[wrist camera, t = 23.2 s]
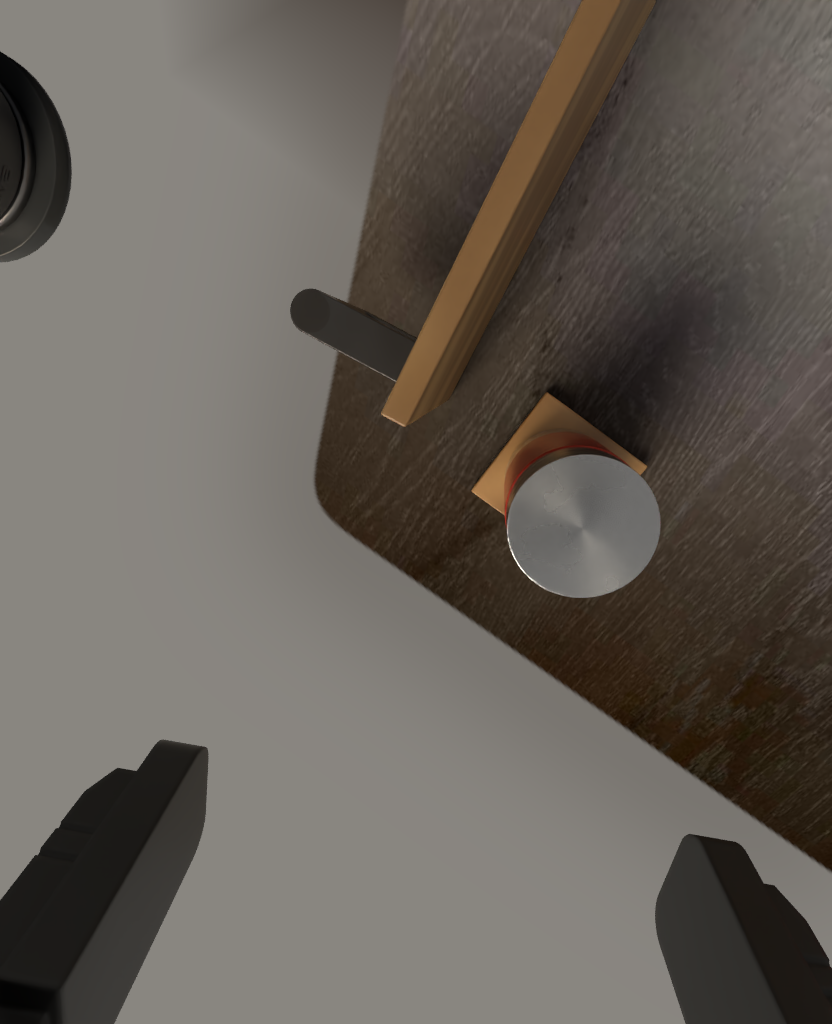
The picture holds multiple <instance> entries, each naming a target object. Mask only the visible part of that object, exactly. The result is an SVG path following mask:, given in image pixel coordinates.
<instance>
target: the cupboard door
mask: <svg viewBox="0 0 832 1024" xmlns="http://www.w3.org/2000/svg"><path fill="white" fill-rule="evenodd" d="M656 1H657V0H582V1H581V3H580V5H579V8H578V10H577V12H576V14H575V16H574V18H573V20H572V22H571V24H570V26H569V28H568V30H567V32H566V34H565V36H564V38H563V40H562V42H561V44H560V47H559V49H558V51H557V53H556V55H555V57H554V59H553V61H552V63H551V65H550V67H549V69H548V71H547V73H546V75H545V77H544V79H543V81H542V83H541V86H540V88H539V90H538V92H537V94H536V96H535V98H534V100H533V102H532V104H531V106H530V108H529V110H528V112H527V114H526V116H525V118H524V120H523V122H522V125H521V127H520V129H519V131H518V133H517V135H516V137H515V139H514V141H513V143H512V145H511V147H510V149H509V151H508V153H507V155H506V157H505V159H504V161H503V164H502V166H501V168H500V170H499V172H498V174H497V176H496V178H495V180H494V182H493V184H492V186H491V188H490V190H489V192H488V194H487V196H486V198H485V200H484V203H483V205H482V207H481V209H480V211H479V213H478V215H477V217H476V219H475V221H474V223H473V225H472V227H471V229H470V231H469V233H468V235H467V237H466V239H465V241H464V244H463V246H462V248H461V250H460V252H459V254H458V256H457V258H456V260H455V262H454V264H453V266H452V268H451V270H450V272H449V274H448V276H447V278H446V280H445V283H444V285H443V287H442V289H441V291H440V293H439V295H438V297H437V299H436V301H435V303H434V305H433V307H432V309H431V311H430V313H429V315H428V317H427V319H426V322H425V324H424V326H423V328H422V330H421V332H420V334H419V336H418V338H416V337H414V336H412V335H410V334H408V333H407V332H405V331H403V330H401V329H399V328H397V327H395V326H393V325H392V324H390V323H388V322H386V321H384V320H382V319H380V318H379V317H377V316H375V315H373V314H371V313H369V312H367V311H365V310H363V309H360V308H358V307H356V306H353V305H351V304H349V303H346V302H344V301H341V300H340V299H337V298H335V297H333V296H330V295H328V294H326V293H323V292H321V291H319V290H316V289H305V290H303V291H301V292H299V293H298V294H297V295H296V296H295V298H294V299H293V301H292V304H291V309H290V312H291V318H292V321H293V323H294V324H295V326H296V327H297V328H298V329H299V330H300V331H301V332H303V333H305V334H307V335H309V336H311V337H312V338H315V339H316V340H318V341H320V342H322V343H324V344H325V345H327V346H329V347H331V348H333V349H335V350H337V351H339V352H340V353H342V354H344V355H346V356H348V357H350V358H352V359H353V360H355V361H357V362H359V363H361V364H363V365H365V366H366V367H368V368H370V369H372V370H374V371H376V372H378V373H380V374H381V375H383V376H385V377H387V378H389V379H391V380H393V381H394V382H396V383H395V385H394V387H393V389H392V391H391V393H390V395H389V397H388V400H387V402H386V404H385V406H384V408H383V410H382V412H381V414H382V415H383V416H384V417H386V418H388V419H390V420H392V421H394V422H396V423H398V424H399V425H401V426H403V427H406V426H408V425H409V424H411V423H412V422H414V421H416V420H417V419H419V418H420V417H422V416H424V415H425V414H427V413H428V412H430V411H432V410H433V409H435V408H436V407H438V406H440V405H441V404H443V403H444V402H446V401H447V400H449V398H450V397H451V395H452V393H453V391H454V389H455V387H456V385H457V383H458V381H459V379H460V377H461V375H462V374H463V372H464V370H465V368H466V366H467V364H468V362H469V360H470V358H471V356H472V354H473V352H474V350H475V349H476V347H477V345H478V343H479V341H480V339H481V337H482V335H483V333H484V331H485V329H486V327H487V326H488V324H489V322H490V320H491V318H492V316H493V314H494V312H495V310H496V308H497V306H498V304H499V302H500V301H501V299H502V297H503V295H504V293H505V291H506V289H507V287H508V285H509V283H510V281H511V279H512V278H513V276H514V274H515V272H516V270H517V268H518V266H519V264H520V262H521V260H522V258H523V256H524V254H525V253H526V251H527V249H528V247H529V245H530V243H531V241H532V239H533V237H534V235H535V233H536V231H537V229H538V228H539V226H540V224H541V222H542V220H543V218H544V216H545V214H546V212H547V210H548V208H549V206H550V205H551V203H552V201H553V199H554V197H555V195H556V193H557V191H558V189H559V187H560V185H561V183H562V181H563V180H564V178H565V176H566V174H567V172H568V170H569V168H570V166H571V164H572V162H573V160H574V158H575V157H576V155H577V153H578V151H579V149H580V147H581V145H582V143H583V141H584V139H585V137H586V135H587V133H588V132H589V130H590V128H591V126H592V124H593V122H594V120H595V118H596V116H597V114H598V112H599V110H600V109H601V107H602V105H603V103H604V101H605V99H606V97H607V95H608V93H609V91H610V89H611V87H612V85H613V84H614V82H615V80H616V78H617V76H618V74H619V72H620V70H621V68H622V66H623V64H624V62H625V61H626V59H627V57H628V55H629V53H630V51H631V49H632V47H633V45H634V43H635V41H636V39H637V37H638V36H639V34H640V32H641V30H642V28H643V26H644V24H645V22H646V20H647V18H648V16H649V14H650V13H651V11H652V9H653V7H654V5H655V3H656Z"/></svg>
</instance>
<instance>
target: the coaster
mask: <svg viewBox="0 0 832 1024" xmlns="http://www.w3.org/2000/svg"><path fill="white" fill-rule="evenodd" d="M555 428H565V429H572V430H576V431H579V432H581V433H584V434H586V435H587V436H589V437H591V438H593V439H594V440H596V441H598V442H599V443H600V444H602V445H603V446H604V447H606V448H607V449H609V450H610V451H611V452H613V453H614V454H615V455H617V456H618V457H619V458H621V459H622V460H623V461H625V462H626V463H627V464H628V465H629V466H630V467H631V468H632V469H633V470H635V471H636V472H637V473H638V474H639V475H641V474H642V473H643V472H644V470H645V469H646V468H647V465H645V464H644V463H643V462H641V461H640V460H639V459H637V458H636V457H635V456H633V455H632V454H630V453H629V452H628V451H626V450H625V449H624V448H622V447H621V446H620V445H618V444H617V443H616V442H614V441H613V440H612V439H610V438H609V437H608V436H606V435H605V434H603V433H602V432H601V431H599V430H598V429H597V428H595V427H594V426H593V425H591V424H590V423H589V422H587V421H586V420H585V419H583V418H582V417H581V416H579V415H578V414H576V413H575V412H574V411H572V410H571V409H570V408H568V407H567V406H566V405H564V404H563V403H562V402H560V401H559V400H558V399H556V398H555V397H554V396H552V395H551V394H549V393H548V392H545V394H544V395H543V396H542V398H541V399H540V400H539V401H538V403H537V404H536V405H535V407H534V408H533V409H532V411H531V412H530V413H529V415H528V416H527V417H526V418H525V420H524V421H523V422H522V424H521V425H520V426H519V428H518V429H517V430H516V432H515V433H514V434H513V435H512V437H511V438H510V439H509V441H508V442H507V443H506V445H505V446H504V447H503V449H502V450H501V451H500V452H499V454H498V455H497V456H496V458H495V459H494V460H493V462H492V463H491V464H490V466H489V467H488V468H487V470H486V471H485V472H484V473H483V475H482V476H481V477H480V479H479V480H478V481H477V483H476V484H475V485H474V487H473V488H472V492H473V493H475V494H476V495H477V496H479V497H480V498H481V499H483V500H484V501H486V502H487V503H488V504H490V505H491V506H492V507H494V508H495V509H496V510H498V511H499V512H501V513H502V514H503V515H505V508H504V478H505V471H506V468H507V464H508V462H509V460H510V458H511V456H512V454H513V453H514V451H515V450H516V449H517V448H518V446H519V445H520V444H522V443H523V442H524V441H525V440H526V439H528V438H529V437H531V436H533V435H534V434H536V433H539V432H541V431H545V430H548V429H555Z"/></svg>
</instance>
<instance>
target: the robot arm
mask: <svg viewBox="0 0 832 1024" xmlns="http://www.w3.org/2000/svg"><path fill="white" fill-rule="evenodd" d="M34 178H35V149H34V142H33V138H32V133H31V130H30V127H29V124H28V121H27V119H26V116H25V114H24V112H23V110H22V108H21V106H20V105H19V103H18V101H17V100H16V98H15V97H14V96H13V94H12V93H11V92H10V90H9V89H8V88H7V87H6V86H5V85H4V84H3V83H2V82H1V81H0V231H1V230H3V229H5V228H6V227H8V226H9V225H10V224H11V223H13V222H14V221H15V220H16V219H17V217H18V216H19V215H20V214H21V212H22V211H23V209H24V207H25V206H26V204H27V202H28V200H29V197H30V194H31V191H32V188H33V183H34ZM207 774H208V750H207V748H206V747H202V746H197V745H191V744H185V743H179V742H173V741H168V740H160V741H159V742H157V744H156V745H155V746H154V747H153V749H152V750H151V751H150V753H149V754H148V756H147V757H146V759H145V760H144V761H143V763H142V764H141V766H140V767H139V769H138V770H137V771H132V770H126V769H121V768H117V769H115V770H114V771H112V772H111V773H109V774H108V775H107V776H105V777H104V778H103V779H101V780H100V781H98V782H97V783H96V784H94V785H93V786H91V787H90V788H89V789H87V790H86V791H85V792H84V793H83V794H82V795H81V797H80V798H79V800H78V801H77V802H76V803H75V805H74V806H73V807H72V808H71V810H70V811H69V812H68V814H67V815H66V816H65V818H64V819H63V820H62V821H61V825H60V827H59V828H57V829H55V830H54V832H53V833H52V834H51V836H50V837H49V838H48V839H47V841H46V842H45V843H44V845H43V846H42V847H41V850H40V853H39V854H38V855H35V856H34V858H33V859H32V860H31V861H30V863H29V864H28V865H27V867H26V868H25V869H24V871H23V872H22V873H21V875H20V876H19V877H18V878H17V880H16V881H15V882H14V884H13V885H12V886H11V887H10V889H9V890H8V891H7V893H6V894H5V895H4V896H3V898H2V899H1V900H0V1024H114V1023H115V1021H116V1019H117V1016H118V1014H119V1012H120V1010H121V1008H122V1006H123V1004H124V1002H125V999H126V998H127V995H128V993H129V991H130V989H131V987H132V985H133V983H134V981H135V979H136V977H137V975H138V973H139V970H140V968H141V966H142V964H143V962H144V960H145V958H146V956H147V954H148V951H149V950H150V947H151V945H152V943H153V941H154V939H155V937H156V935H157V933H158V931H159V929H160V926H161V924H162V922H163V920H164V918H165V916H166V914H167V912H168V910H169V908H170V906H171V904H172V901H173V899H174V897H175V895H176V893H177V891H178V889H179V886H180V885H181V883H182V880H183V878H184V876H185V874H186V872H187V870H188V868H189V866H190V864H191V861H192V860H193V857H194V855H195V853H196V850H197V847H198V844H199V841H200V838H201V835H202V831H203V827H204V822H205V814H206V795H207ZM655 920H656V930H657V935H658V940H659V944H660V947H661V950H662V953H663V956H664V959H665V962H666V965H667V968H668V971H669V974H670V977H671V980H672V984H673V987H674V990H675V993H676V996H677V998H678V1002H679V1004H680V1008H681V1011H682V1014H683V1017H684V1020H685V1023H686V1024H832V968H831V967H830V965H829V959H828V957H827V955H826V954H825V952H824V950H823V948H822V947H821V945H820V943H819V942H818V940H817V938H816V936H815V935H814V933H813V931H812V929H811V928H810V926H809V924H808V923H807V921H806V920H805V919H804V918H803V916H801V914H800V913H799V912H798V911H797V910H796V909H795V908H794V907H793V906H792V904H791V903H790V902H789V901H788V900H787V899H786V898H785V897H784V896H783V895H782V893H780V891H779V890H778V889H777V888H776V887H775V886H774V885H768V884H764V883H763V882H762V880H761V878H760V876H759V874H758V872H757V871H756V869H755V867H754V865H753V863H752V861H751V860H750V858H749V856H748V854H747V853H746V851H745V850H744V848H743V847H742V846H741V845H740V844H738V843H736V842H733V841H727V840H721V839H716V838H710V837H704V836H699V835H692V834H688V835H686V836H685V837H684V838H683V839H682V841H681V843H680V846H679V848H678V850H677V853H676V855H675V857H674V860H673V862H672V864H671V867H670V869H669V872H668V874H667V876H666V878H665V881H664V883H663V886H662V888H661V890H660V893H659V895H658V898H657V902H656V911H655Z"/></svg>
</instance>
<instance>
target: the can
mask: <svg viewBox="0 0 832 1024" xmlns="http://www.w3.org/2000/svg"><path fill="white" fill-rule="evenodd" d="M504 508H505V523H506V528H507V538H508V543H509V547H510V550H511V553H512V555H513V557H514V559H515V561H516V563H517V564H518V566H519V567H520V569H521V570H522V571H523V572H524V574H526V575H527V576H528V577H529V578H530V579H531V580H532V581H533V582H535V583H536V584H537V585H539V586H541V587H542V588H544V589H546V590H548V591H550V592H553V593H555V594H559V595H562V596H568V597H575V598H587V597H596V596H600V595H604V594H607V593H610V592H613V591H615V590H617V589H619V588H621V587H623V586H625V585H626V584H628V583H629V582H631V581H632V580H633V579H634V578H636V577H637V576H638V575H639V574H640V573H641V572H642V571H643V569H644V568H645V567H646V566H647V564H648V563H649V561H650V560H651V558H652V556H653V554H654V552H655V550H656V547H657V544H658V541H659V536H660V528H661V520H660V511H659V507H658V503H657V501H656V498H655V496H654V494H653V492H652V490H651V488H650V487H649V485H648V484H647V483H646V481H645V480H644V479H643V478H642V477H641V476H640V475H639V474H638V473H637V472H636V471H635V470H633V469H632V468H631V467H630V466H629V465H628V464H627V463H626V462H625V461H623V460H622V459H621V458H619V457H618V456H617V455H615V454H614V453H613V452H611V451H610V450H609V449H607V448H606V447H604V446H603V445H602V444H600V443H599V442H598V441H596V440H594V439H593V438H591V437H589V436H587V435H586V434H584V433H581V432H579V431H576V430H572V429H565V428H555V429H548V430H545V431H541V432H539V433H536V434H534V435H533V436H531V437H529V438H528V439H526V440H525V441H524V442H523V443H522V444H520V445H519V446H518V448H517V449H516V450H515V451H514V453H513V454H512V456H511V458H510V460H509V462H508V464H507V468H506V471H505V478H504Z"/></svg>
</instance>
